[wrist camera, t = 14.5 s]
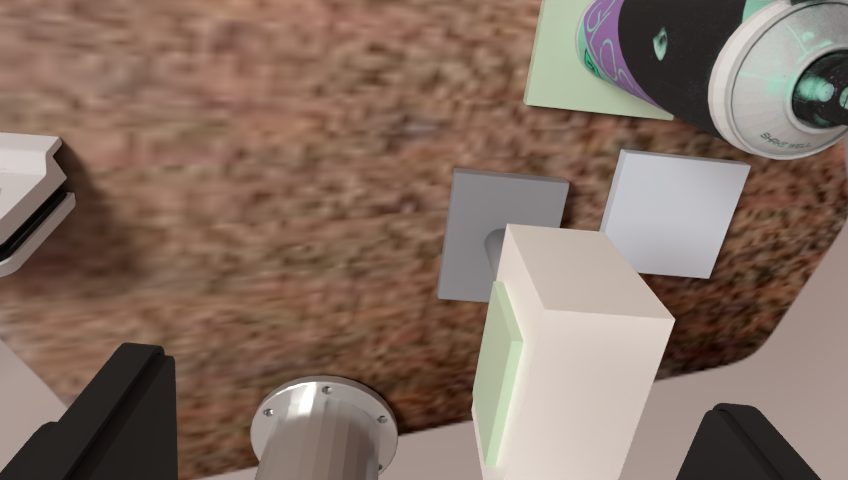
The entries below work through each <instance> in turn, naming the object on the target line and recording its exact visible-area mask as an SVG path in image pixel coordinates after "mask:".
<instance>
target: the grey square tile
mask: <svg viewBox="0 0 848 480" xmlns="http://www.w3.org/2000/svg"><path fill="white" fill-rule="evenodd" d="M750 168H751V165H749V164H747V163H745V162H742V161H733V160H723V159H713V158H703V157H694V156H684V155H674V154H664V153H655V152H645V151H635V150H625V149H621V152H620V156H619V160H618V163H617V167H616V171H615V175H614V178H613V182H612V186H611V189H610V193H609V197H608V201H607V204H606V208H605V212H604V216H603V219H602V223H601V227H600V230H599V232H604V233H605V234H606V235H607V236H608V238H609V239H610V240H611V241H612V243H613V244H614V245H615V246H616V248H617V249H618V250H619V251H620V252H621V254H622V255H623V256H624V257H625V259H626V260H627V261H628V262H629V263H630V265H631V266H632V267H633V268H634V270H635V271H636V272H637V273H648V274H660V275H672V276H684V277H696V278H707V279H709V277H710V274H711V272H712V269H713V266H714V264H715V261H716V258H717V256H718V253H719V250H720V248H721V245H722V242H723V240H724V237H725V234H726V232H727V229H728V226H729V224H730V221H731V218H732V216H733V213H734V210H735V208H736V205H737V202H738V200H739V197H740V194H741V192H742V189H743V186H744V184H745V181H746V178H747V176H748V173H749V170H750Z"/></svg>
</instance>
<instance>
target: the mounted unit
mask: <svg viewBox="0 0 848 480" xmlns="http://www.w3.org/2000/svg"><path fill="white" fill-rule="evenodd" d="M568 188H569V182H568V181H567V180H566V179H565V178H557V177H547V176H537V175H527V174H516V173H506V172H496V171H485V170H475V169H465V168H455V167H454V172H453V179H452V187H451V194H450V201H449V208H448V215H447V222H446V230H445V237H444V244H443V251H442V258H441V265H440V272H439V280H438V287H437V295H438V298H439V299H451V300H464V301H477V302H489V308H488V313H487V318H486V324H485V329H484V334H483V340H482V345H481V350H480V356H479V361H478V366H477V372H476V377H475V382H474V388H473V399H474V400H473V405H472V415H473V421H474V427H475V434H476V440H477V445H478V452H479V458H480V464H481V471H482V476H483V480H618V479H619V476H620V473H621V470H622V467H623V465H624V462H625V459H626V456H627V453H628V451H629V447H630V445H631V442H632V440H633V437H634V434H635V431H636V428H637V425H638V423H639V420H640V417H641V414H642V412H643V409H644V406H645V403H646V400H647V398H648V395H649V392H650V389H651V386H652V384H653V381H654V378H655V375H656V373H657V370H658V367H659V364H660V361H661V359H662V356H663V353H664V350H665V347H666V345H667V342H668V339H669V336H670V333H671V331H672V328H673V325H674V322H675V319H674V317H673V316H672V315H671V314H670V312H669V311H668V310H667V309H666V308H665V306H664V305H663V304H662V303H661V301H660V300H659V299H658V298H657V297H656V295H655V294H654V293H653V292H652V290H651V289H650V288H649V287H648V285H647V284H646V283H645V282H644V281H643V279H642V278H641V277H640V276H639V274H638V273H637V272H636V271H635V270H634V268H633V267H632V266H631V265H630V263H629V262H628V261H627V260H626V259H625V257H624V256H623V255H622V254H621V252H620V251H619V250H618V249H617V248H616V246H615V245H614V244H613V243H612V241H611V240H610V239H609V238H608V236H607V235H606V234H605V233H604V232H596V231H585V230H574V229H563V228H559V227H560V222H561V218H562V214H563V210H564V205H565V201H566V197H567V193H568Z"/></svg>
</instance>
